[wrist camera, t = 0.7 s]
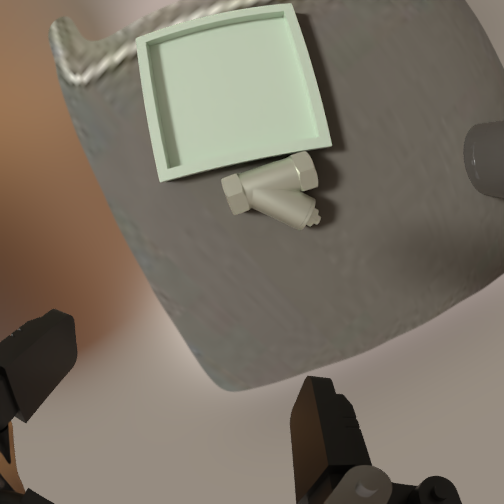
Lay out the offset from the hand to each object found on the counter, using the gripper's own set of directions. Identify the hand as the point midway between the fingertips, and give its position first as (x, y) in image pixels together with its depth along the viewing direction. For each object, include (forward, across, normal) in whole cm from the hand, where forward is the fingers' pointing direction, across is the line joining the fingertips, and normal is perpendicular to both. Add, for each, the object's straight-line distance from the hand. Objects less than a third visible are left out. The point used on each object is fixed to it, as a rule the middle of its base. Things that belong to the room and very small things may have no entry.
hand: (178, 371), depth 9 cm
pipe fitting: (+19, -5, -2) cm, 20 cm away
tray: (+21, +4, -15) cm, 26 cm away
